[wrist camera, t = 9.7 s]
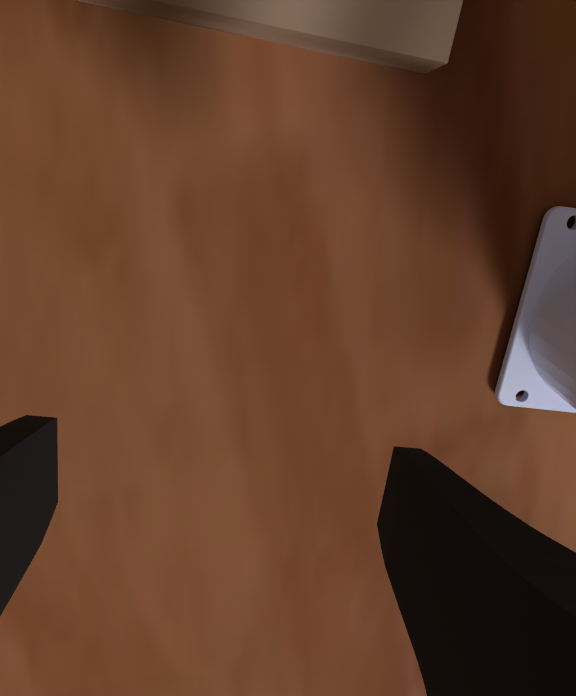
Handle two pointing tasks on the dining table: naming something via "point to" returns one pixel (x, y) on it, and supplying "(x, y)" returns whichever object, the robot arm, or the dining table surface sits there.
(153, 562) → the dining table surface
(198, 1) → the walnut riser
